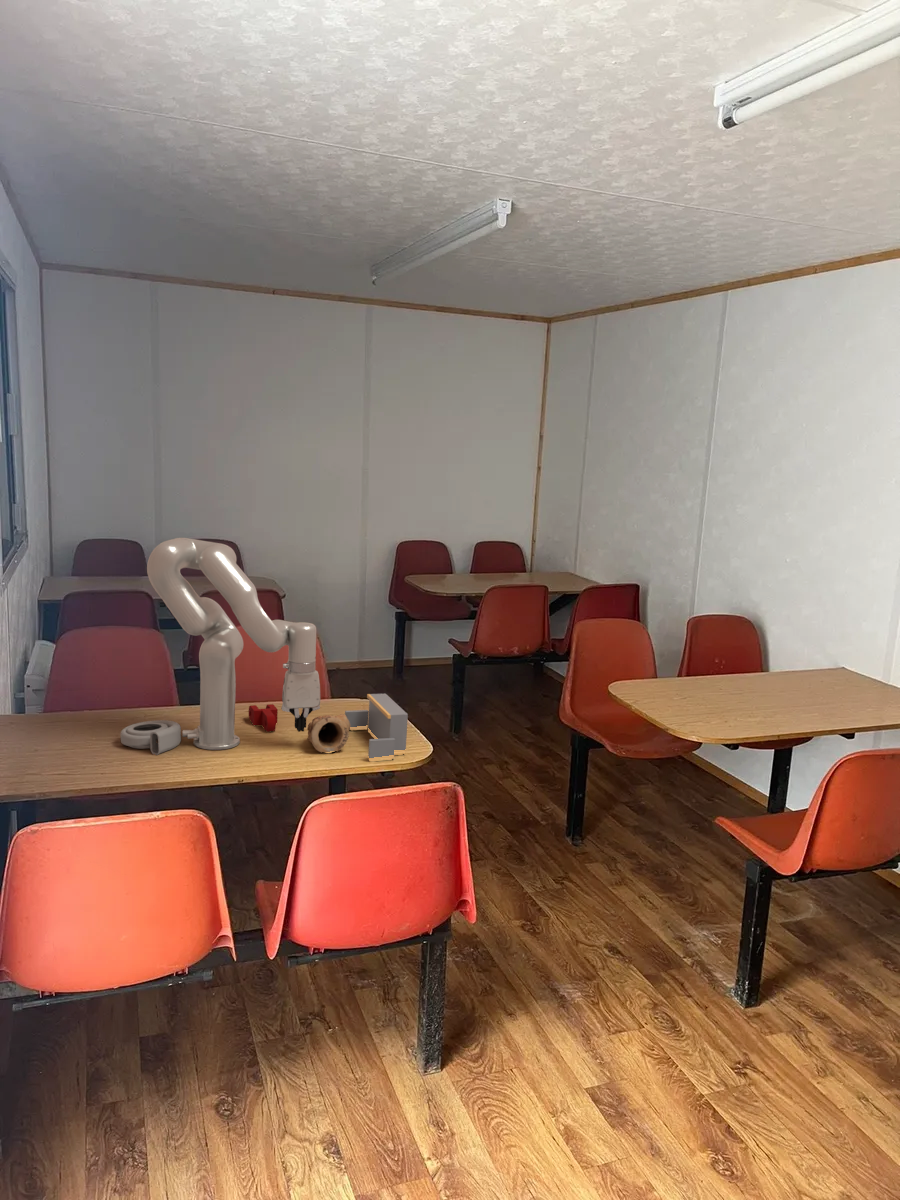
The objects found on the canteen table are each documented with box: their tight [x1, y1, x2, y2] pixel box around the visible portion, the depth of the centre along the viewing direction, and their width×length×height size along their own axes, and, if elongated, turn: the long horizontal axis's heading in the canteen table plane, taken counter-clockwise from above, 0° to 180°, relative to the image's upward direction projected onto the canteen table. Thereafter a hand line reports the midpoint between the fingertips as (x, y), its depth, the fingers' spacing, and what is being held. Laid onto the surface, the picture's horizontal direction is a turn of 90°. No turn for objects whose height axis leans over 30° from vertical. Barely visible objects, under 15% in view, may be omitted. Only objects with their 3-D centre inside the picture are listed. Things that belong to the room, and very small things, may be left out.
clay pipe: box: [306, 713, 350, 753], centre depth 250 cm, size 19×11×15 cm
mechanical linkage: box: [248, 703, 279, 733], centre depth 265 cm, size 16×7×5 cm, turn 24°
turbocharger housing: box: [120, 719, 182, 756], centre depth 242 cm, size 17×6×15 cm
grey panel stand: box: [344, 693, 409, 758], centre depth 253 cm, size 12×29×12 cm, turn 21°
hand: (300, 730), depth 245 cm, fingers closed
